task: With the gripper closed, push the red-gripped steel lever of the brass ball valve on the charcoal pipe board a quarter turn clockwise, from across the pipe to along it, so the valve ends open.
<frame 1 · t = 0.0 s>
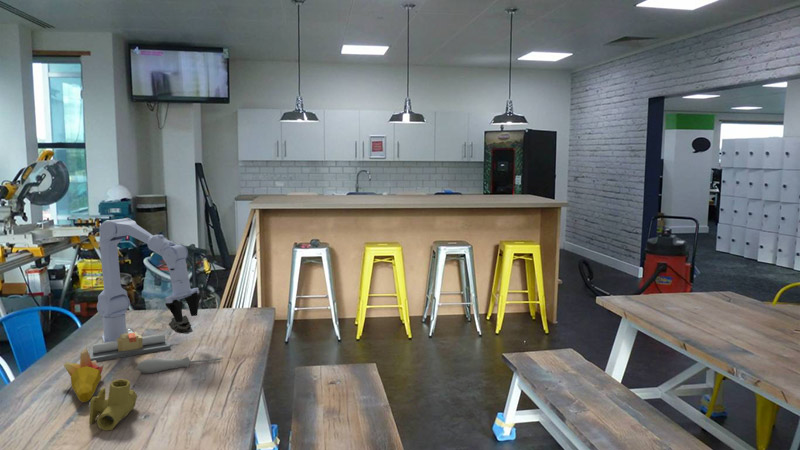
hand: (187, 318, 188), 11 cm above the table, fingers open, 7 cm apart
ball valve: (110, 420, 138), on the table
valve lever: (130, 334, 181), point 7 cm above the table, hinge at 0.0°
screwdriver: (181, 368, 172), on the table
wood: (180, 326, 215), on the table
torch: (83, 392, 154), on the table
valve stand: (130, 351, 186), on the table
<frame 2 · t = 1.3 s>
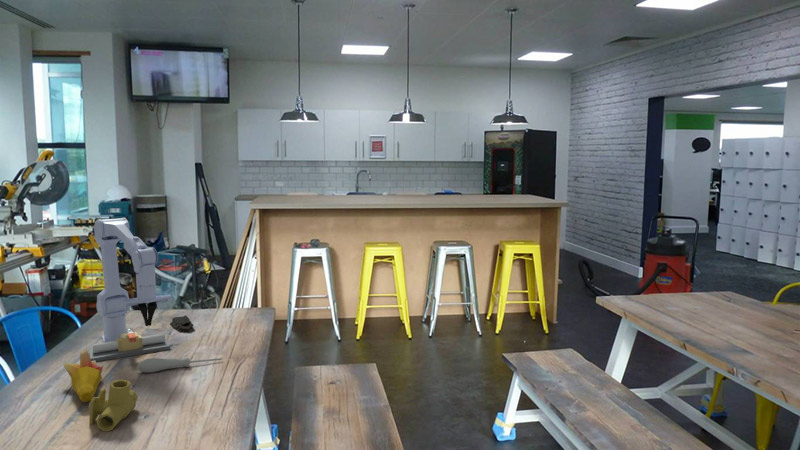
hand: (148, 325, 181), 10 cm above the table, fingers closed
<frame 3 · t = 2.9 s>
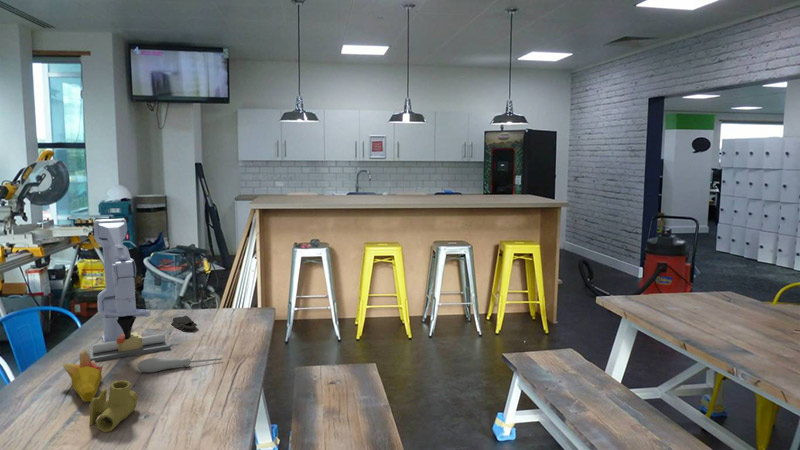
hand: (127, 338, 178), 7 cm above the table, fingers closed, pressing on valve lever
valve lever: (125, 335, 181), point 7 cm above the table, hinge at 19.6°, touching gripper
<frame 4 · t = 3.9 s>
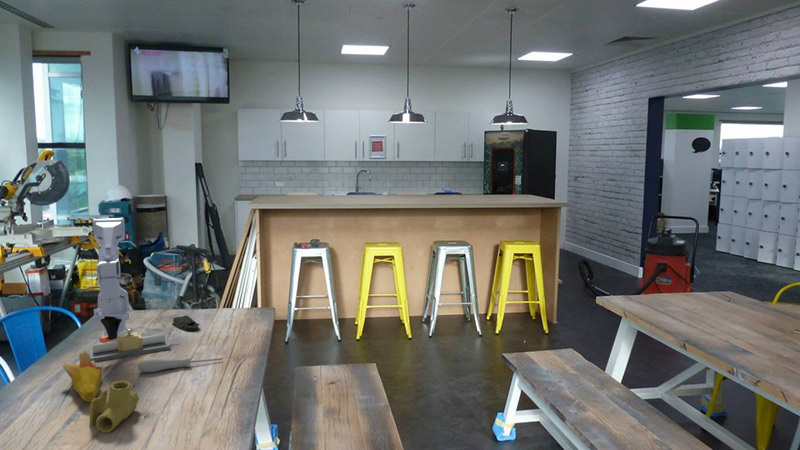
hand: (112, 338, 177), 7 cm above the table, fingers closed, pressing on valve lever
valve lever: (117, 334, 181), point 7 cm above the table, hinge at 52.0°, touching gripper
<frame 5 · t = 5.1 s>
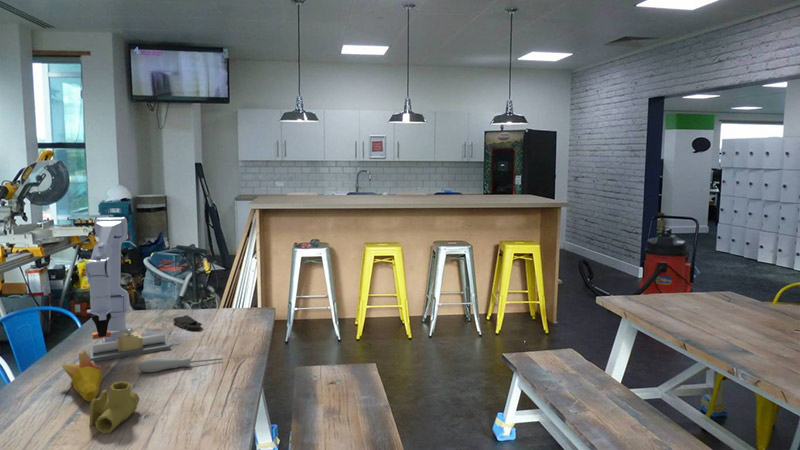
hand: (102, 336, 180), 7 cm above the table, fingers closed, pressing on valve lever
valve lever: (113, 333, 183), point 7 cm above the table, hinge at 89.0°, touching gripper
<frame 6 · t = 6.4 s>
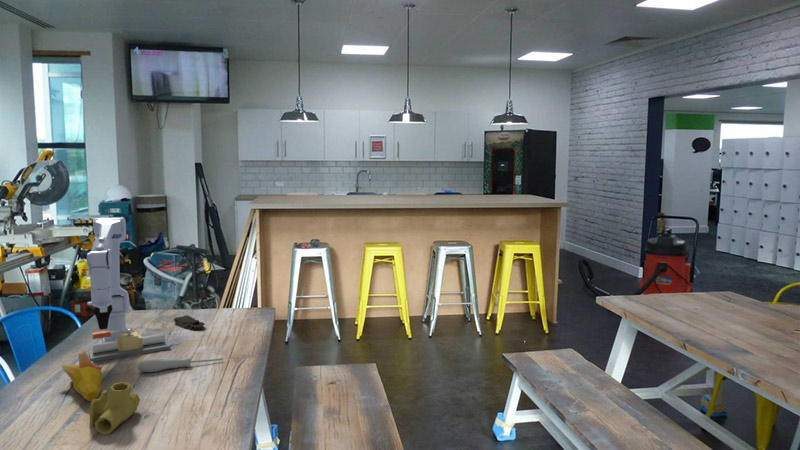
hand: (103, 328, 177), 10 cm above the table, fingers closed
valve lever: (113, 333, 183), point 7 cm above the table, hinge at 89.6°
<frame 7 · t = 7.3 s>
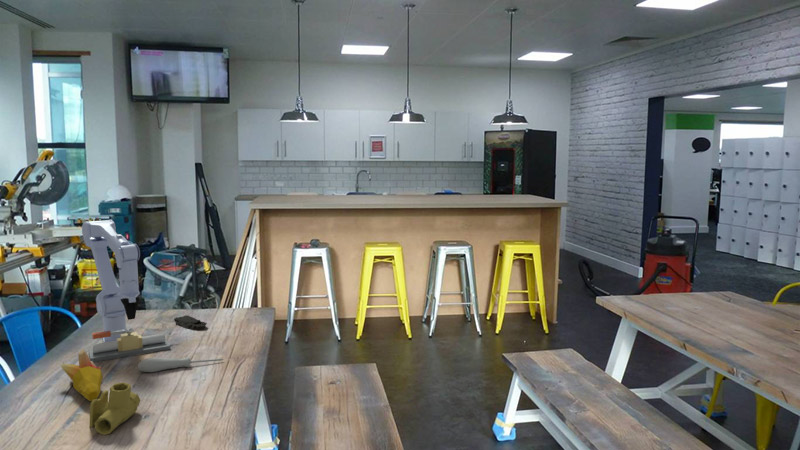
hand: (131, 318, 188), 10 cm above the table, fingers closed
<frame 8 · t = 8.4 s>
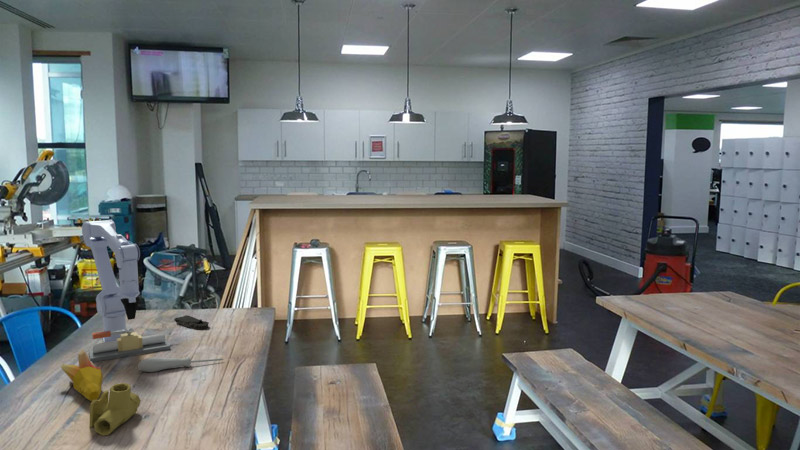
hand: (131, 318, 188), 10 cm above the table, fingers closed
at the end: valve lever at +90° (first picture: +0°) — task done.
